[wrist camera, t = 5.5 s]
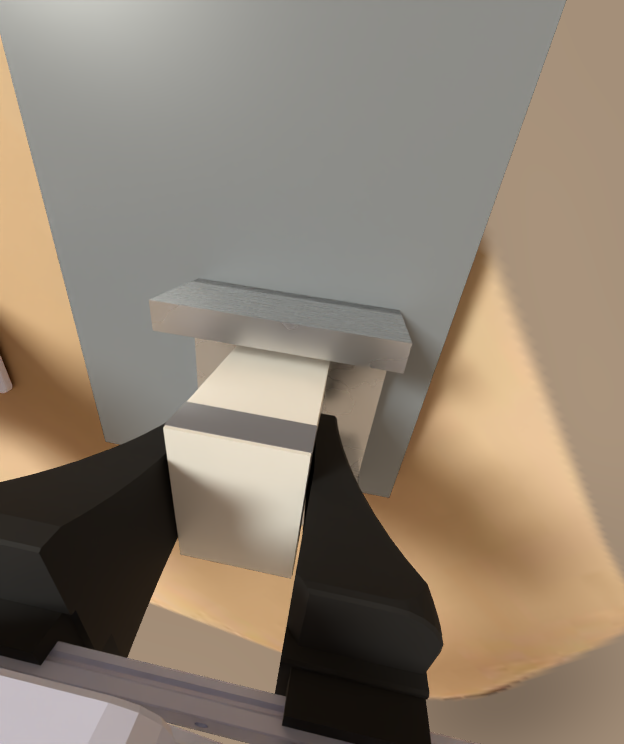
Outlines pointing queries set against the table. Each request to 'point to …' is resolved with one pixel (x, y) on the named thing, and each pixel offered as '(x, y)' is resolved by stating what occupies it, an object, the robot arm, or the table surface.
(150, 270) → the board
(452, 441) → the table surface
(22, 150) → the table surface
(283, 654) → the robot arm
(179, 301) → the end holder
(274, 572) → the block
